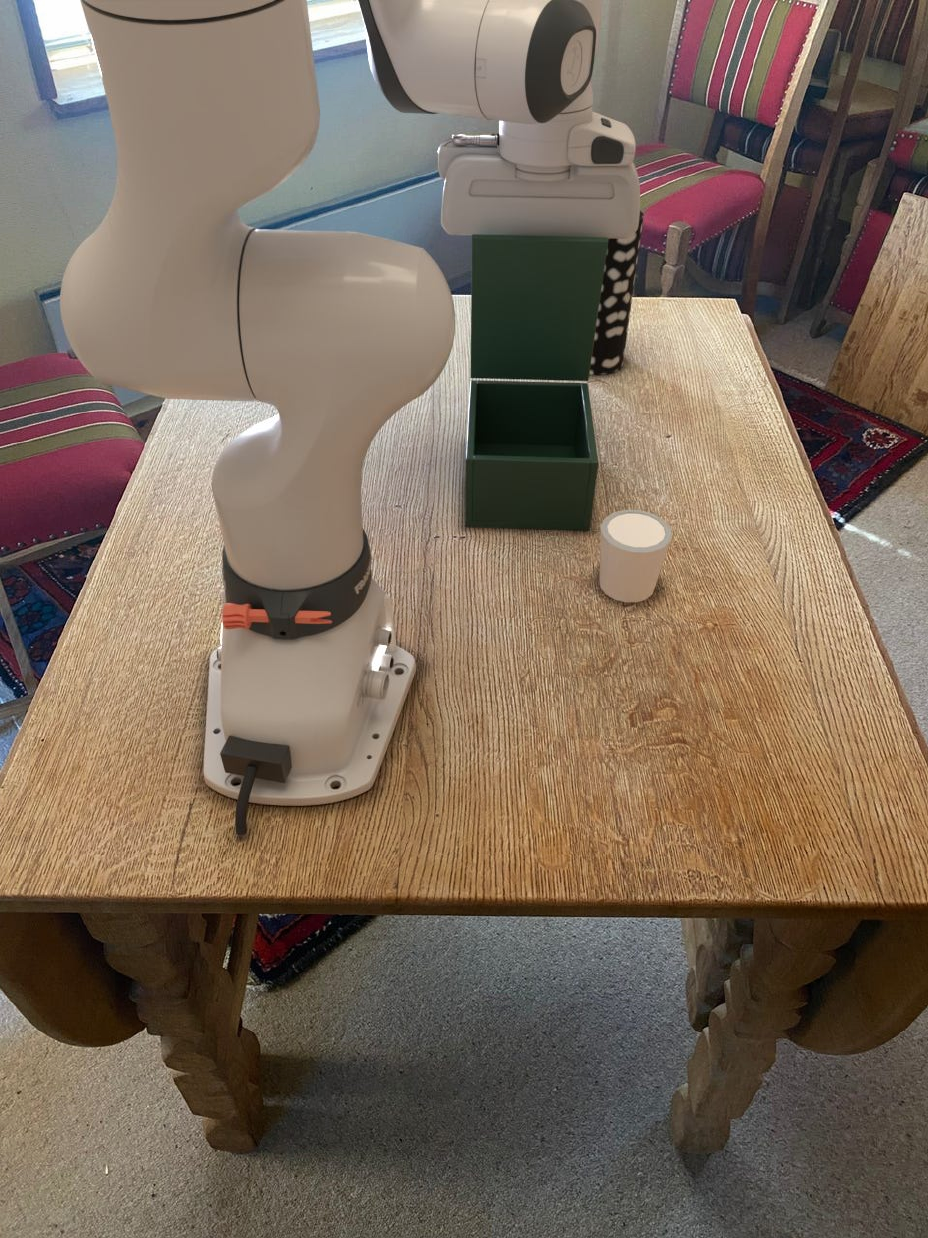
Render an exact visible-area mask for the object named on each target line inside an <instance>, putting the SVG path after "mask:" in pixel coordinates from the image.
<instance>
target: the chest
mask: <svg viewBox="0 0 928 1238" xmlns="http://www.w3.org/2000/svg"><path fill="white" fill-rule="evenodd" d="M468 401H469V402H468V412H467V413H468V416H467V432H466V450H465V484H464V485H465V486H464V487H465V489H464V490H465V492H464V493H465V494H464V495H465V496H464V527H465V528H473V529H475V528H476V529H508V530H509V529H511V530H543V531H545V530H547V531H580V532H581V531H583V532H586V531H587V532H589V531H590V530H591V523H592V517H593V516H592V515H593V509H594V501H595V500H594V499H595V492H596V485H597V477H598V469H599V457H598V449H597V442H596V435H595V427H594V420H593V412H592V403H591V397H590V390H589V383H588V382H568V381H565V382H564V381H528V380H522V381H521V380H520V381H519V380H488V379H486V380H485V379H478V380H476V379H471V380H470V381H469V398H468Z"/></svg>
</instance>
